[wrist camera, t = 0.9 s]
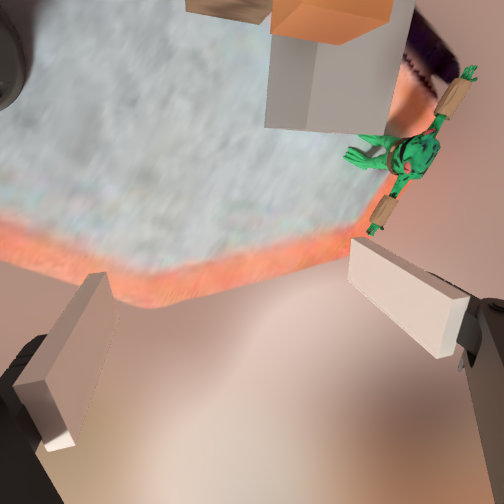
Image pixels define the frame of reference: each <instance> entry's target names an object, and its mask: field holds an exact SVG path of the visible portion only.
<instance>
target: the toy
mask: <svg viewBox="0 0 504 504" xmlns="http://www.w3.org/2000/svg"><path fill="white" fill-rule="evenodd" d="M472 69H473V70H472ZM476 69H477V66H474V67H473V66H472V65H471V66H470V67H469V69H468V67H466V68H465V70H464V72H463V74H462V76H461V77H460V78H455V79H454V80H453V81H452V83H451V84H450V85H449V87H448V89H447V90H446V91H445V93H444V95H443V96H442V98H441V100H440V101H439V103H438V105H437V107H436V109H435V111H434V115H435V117H436V118H435V120H434V121H433V123H432V124H431V125H430V127H429V128H428V129H427V131H424V132H422V134H419V135H416V136H413V137H411V138H402V139H399V138H397V137H394V136H390V135H383V136H381V135H362V134H357V135H358V136H359V137H361V138H362V139H364V140H366V141H367V142H369V143H371V144H373V145H374V146H376V147H379V146H380V145H382V146H383V147H385V148H386V150H387V152H386V154H385V155H379V156H378V157H374V158H368V157H366V156H365V155H363V154H361V153H360V152H358V151H356V150H354V149H352V148H348V150H349V152H347V153H346V155H347V156H343V157H344V159H346V160H347V161H349V162H351V163H353V164H354V165H356V166H358V167H360V168H362V169H364V170H366V169H367V168H368V167H369V168H373V169H376V168H378V169H387V170H389V171H390V172H391V173H392V174H394V175H399V176H398V178H397V180H396V183H395V185H394V187H393V189H392V191H391V193H390V195H389V196H388V195H384V196H383V198H382V199H381V200H380V202H379V203H378V205H377V207H376V208H375V210H374V212H373V214H372V215H371V218H370V222H372V224H371V225H370V227H369V228H368V230H367V231H366V232H367V233H368V235H371V236H374V233H375V231H376V230H377V229H378V228H379V227H380V229H381V230H384V228H383V225H384V224H385V223H386V221H387V219H388V218H389V216H390V214H391V213H392V211H393V209H394V208H395V206H396V204H397V203H398V200H397V199H396V197H397V196H398V194H399V193H400V191H401V190H402V189H403V187H404V186H405V185H406V184H407V182H408V181H409V180H410V179H420V178H421V177H422V176H423V175H424V173H425V172H426V171H427V169H428V167H429V166H430V165H431V163H432V162H433V160H434V158H435V157H436V155H437V153H438V151H439V149H440V143H439V141H438V140H436V139H435V137H436V135H437V133H438V131H439V129H440V127H441V125H442V123H443V122H444V120H450V118H451V117H452V115H453V114H454V112H455V110H456V109H457V107H458V106H459V104H460V103H461V101H462V99H463V98H464V96H465V95H466V93H467V92H468V90H469V88H470V87H471V82H472V81H477V78H474V79H471V77H472V74H473V73H474V71H475V70H476ZM467 70H468V71H467ZM471 70H472V72H471V74H470V75H469V73H470V71H471ZM466 72H467V73H466ZM468 75H469V76H468ZM395 173H397V174H395ZM370 229H371V230H370ZM373 230H374V231H373ZM372 231H373V233H372V234H371V232H372Z"/></svg>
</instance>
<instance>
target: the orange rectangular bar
mask: <svg viewBox="0 0 504 504" xmlns="http://www.w3.org/2000/svg"><path fill="white" fill-rule="evenodd" d="M393 2H394V0H273V5H272V17H271V30H270V34H275V35H281V36H287V37H292V38H298V39H304V40H309V41H315V42H321V43H327V44H332V45H338V46H340V45H342V44H344V43H346V42H348V41H351V40H353V39H355V38H357V37H359V36H361V35H363V34H365V33H367V32H369V31H371V30H374V29H376V28H378V27H380V26H382V25H384V24H386V23H388V22H389V21H390V16H391V12H392V7H393Z"/></svg>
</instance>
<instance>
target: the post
mask: <svg viewBox="0 0 504 504" xmlns="http://www.w3.org/2000/svg"><path fill="white" fill-rule="evenodd" d="M185 3H186V12H191V13H197V14H202V15H208V16H213V17H219V18H224V19H230V20H235V21H241V22H247V23H252V24H258V25H259V24H260V23H261V22H262V21H263V20H264V18H265V17H266V16H267V15H268V14H269V13H270V11H271V10H272V5H273V0H185Z"/></svg>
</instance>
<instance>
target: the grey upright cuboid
mask: <svg viewBox="0 0 504 504" xmlns="http://www.w3.org/2000/svg"><path fill="white" fill-rule="evenodd" d="M415 3H416V0H394V2H393V7H392V12H391V16H390V21H389V22H388V23H386V24H384V25H382V26H380V27H378V28H376V29H374V30H371V31H369V32H367V33H365V34H363V35H361V36H359V37H357V38H355V39H353V40H351V41H348V42H346V43H344V44H342V45H340V46H338V45H332V44H327V43H321V42H315V41H309V40H304V39H298V38H292V37H287V36H281V35H275V34H272V42H271V54H270V66H269V78H268V90H267V102H266V114H265V126H264V128H275V129H287V130H299V131H311V132H324V133H343V134H362V135H381V136H383V135H384V131H385V127H386V123H387V118H388V114H389V110H390V106H391V102H392V98H393V94H394V89H395V85H396V81H397V77H398V73H399V69H400V65H401V60H402V56H403V52H404V48H405V44H406V40H407V36H408V32H409V27H410V23H411V19H412V15H413V11H414V7H415Z"/></svg>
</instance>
